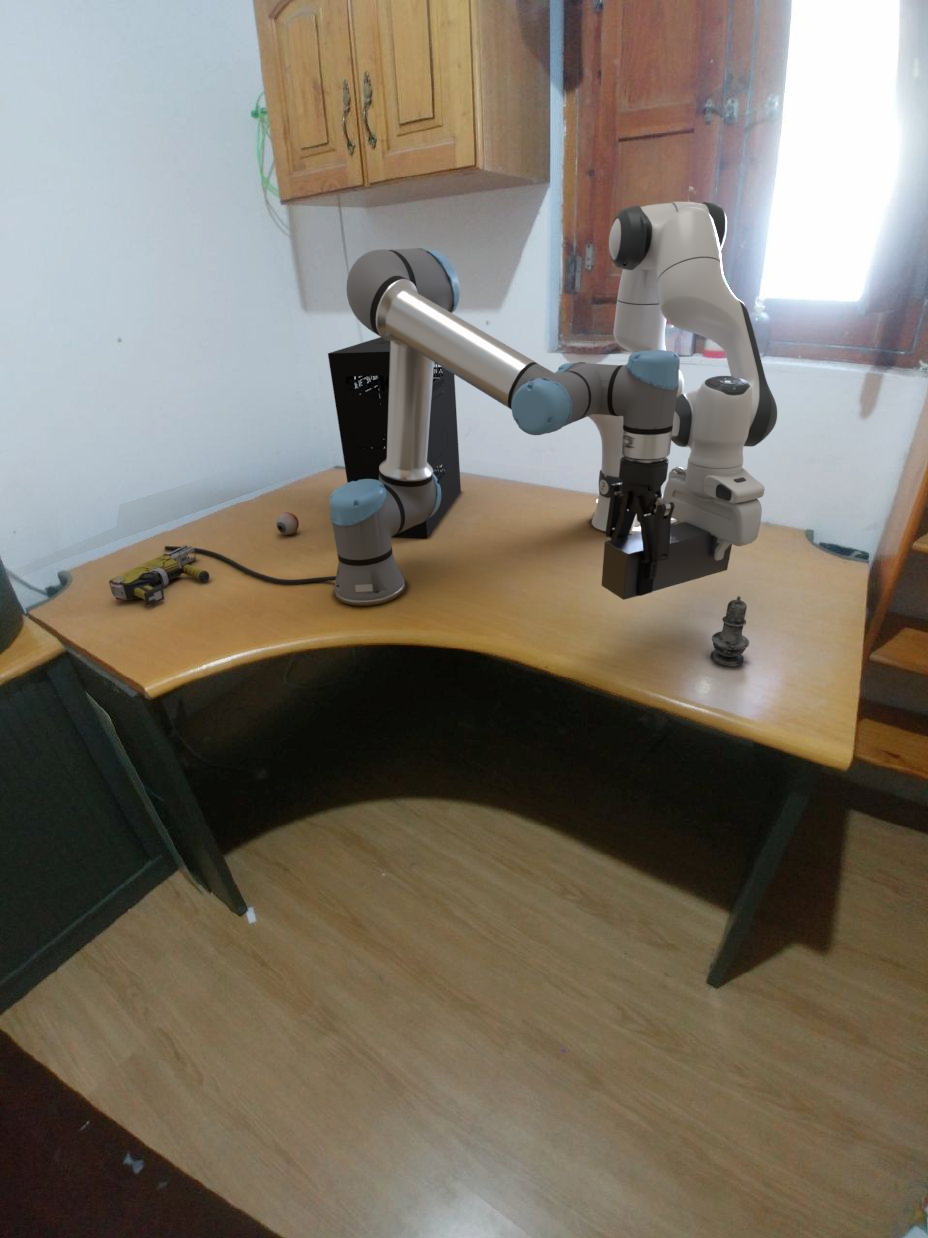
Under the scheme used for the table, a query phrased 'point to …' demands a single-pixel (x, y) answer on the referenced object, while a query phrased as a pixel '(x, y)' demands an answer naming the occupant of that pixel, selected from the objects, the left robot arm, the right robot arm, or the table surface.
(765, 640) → the table surface
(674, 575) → the box
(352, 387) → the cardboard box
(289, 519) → the eyeball
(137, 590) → the toy gun
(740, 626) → the dark grey chess piece
